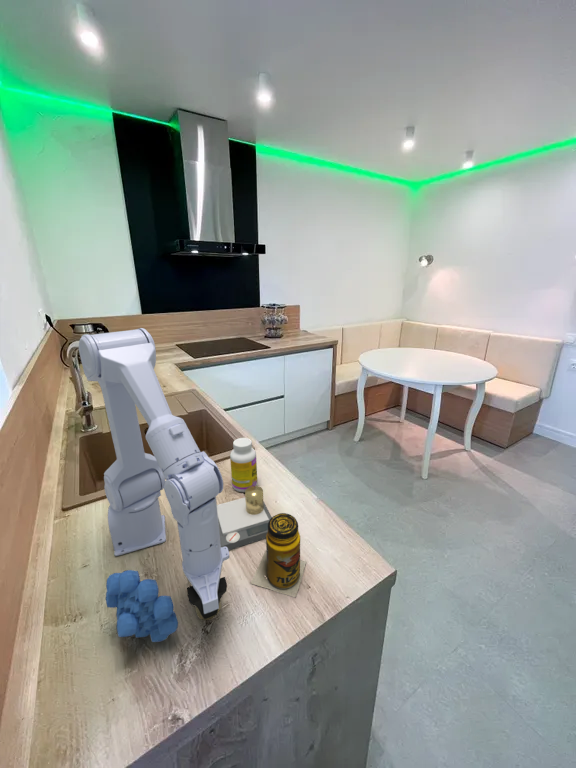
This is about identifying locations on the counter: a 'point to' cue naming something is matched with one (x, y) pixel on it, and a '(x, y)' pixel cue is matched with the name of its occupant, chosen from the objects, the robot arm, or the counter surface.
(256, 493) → the cylinder
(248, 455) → the supplement bottle
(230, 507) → the scale
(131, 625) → the grapes
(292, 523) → the condiment
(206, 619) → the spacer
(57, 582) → the counter surface
